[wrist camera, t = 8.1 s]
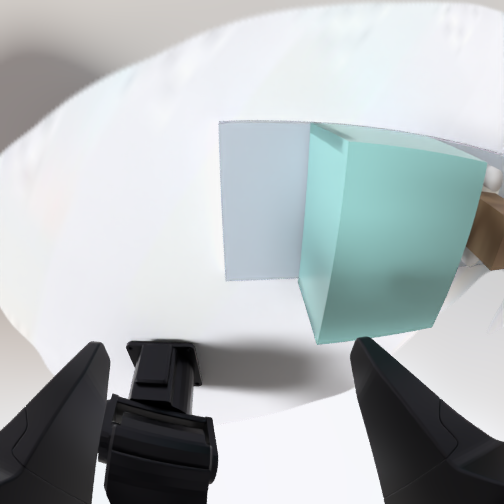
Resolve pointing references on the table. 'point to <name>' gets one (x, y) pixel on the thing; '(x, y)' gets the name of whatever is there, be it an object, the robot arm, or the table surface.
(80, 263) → the table surface
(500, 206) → the block
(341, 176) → the block
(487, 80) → the table surface
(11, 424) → the robot arm
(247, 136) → the grey flat rectangular block
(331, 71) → the table surface
